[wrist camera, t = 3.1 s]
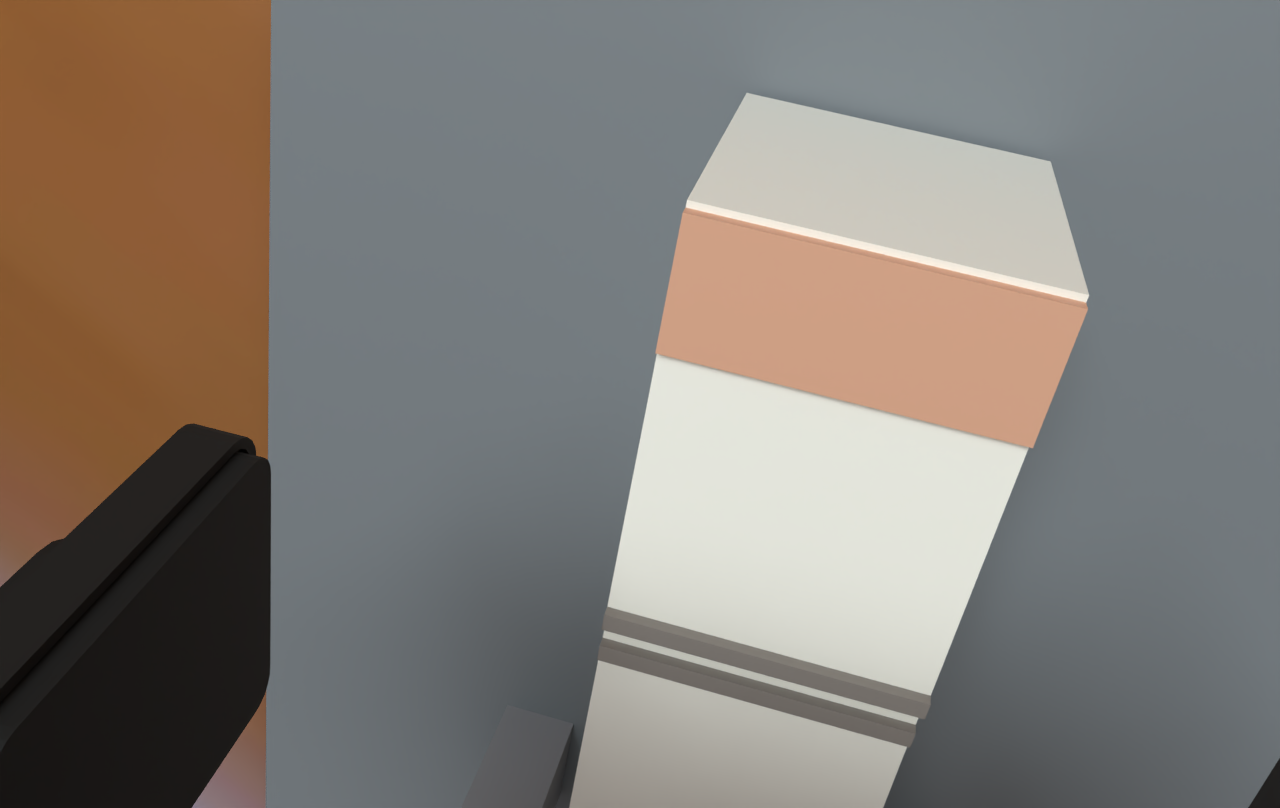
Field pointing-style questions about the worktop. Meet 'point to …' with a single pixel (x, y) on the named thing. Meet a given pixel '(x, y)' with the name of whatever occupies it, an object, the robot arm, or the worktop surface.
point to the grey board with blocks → (621, 378)
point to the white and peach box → (842, 398)
